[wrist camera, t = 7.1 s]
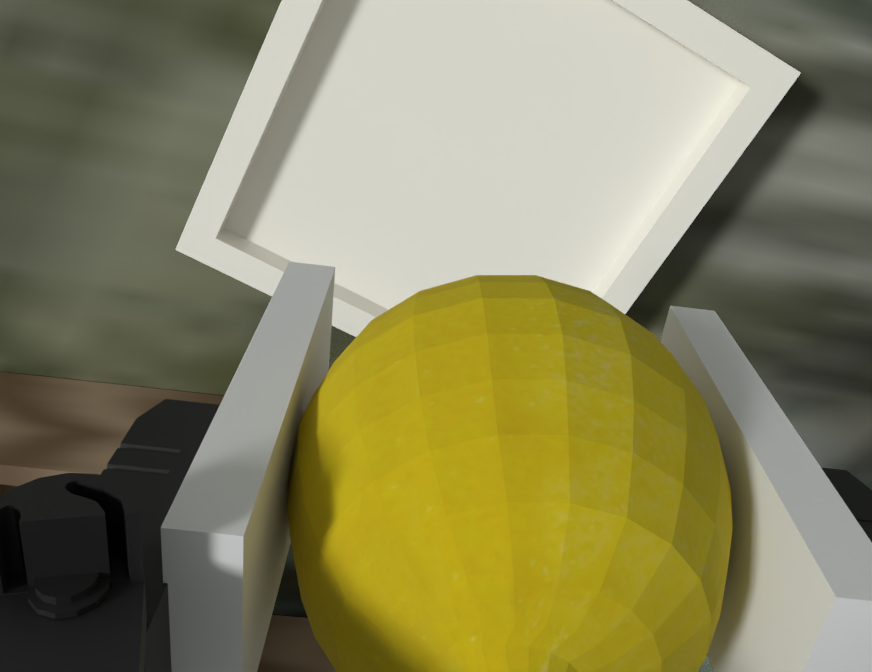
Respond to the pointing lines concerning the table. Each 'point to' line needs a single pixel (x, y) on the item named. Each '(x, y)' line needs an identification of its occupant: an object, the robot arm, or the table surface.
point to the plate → (478, 144)
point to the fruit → (509, 490)
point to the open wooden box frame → (90, 453)
